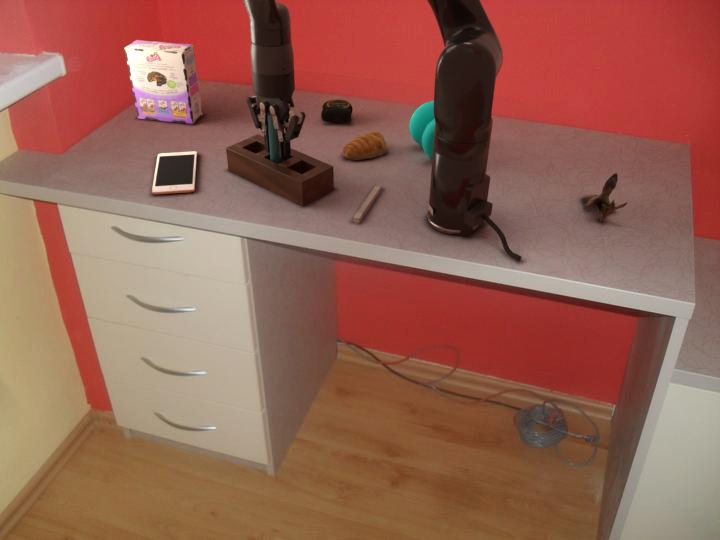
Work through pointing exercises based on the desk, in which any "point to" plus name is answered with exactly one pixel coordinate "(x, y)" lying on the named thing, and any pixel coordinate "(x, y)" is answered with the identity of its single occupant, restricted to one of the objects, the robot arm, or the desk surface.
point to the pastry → (366, 146)
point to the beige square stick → (366, 204)
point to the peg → (273, 141)
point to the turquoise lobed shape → (424, 127)
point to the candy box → (164, 81)
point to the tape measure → (336, 111)
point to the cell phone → (175, 173)
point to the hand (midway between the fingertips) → (278, 154)
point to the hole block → (281, 171)
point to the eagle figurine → (604, 198)
